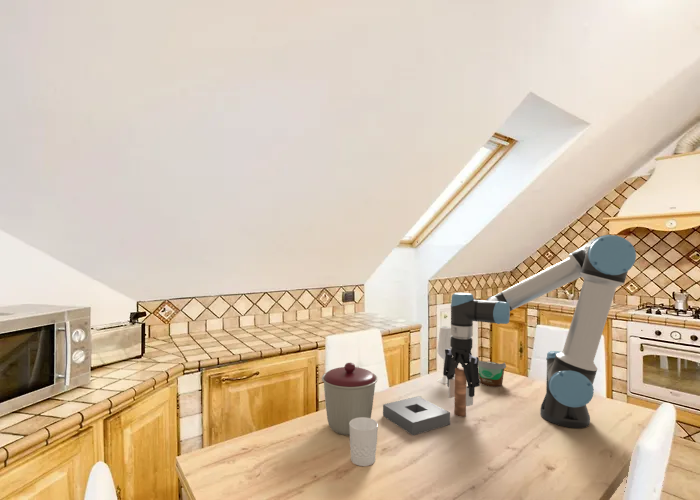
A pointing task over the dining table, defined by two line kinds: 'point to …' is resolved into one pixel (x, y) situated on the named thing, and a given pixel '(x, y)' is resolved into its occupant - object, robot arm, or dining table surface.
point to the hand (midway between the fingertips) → (460, 400)
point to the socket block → (416, 415)
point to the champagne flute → (444, 346)
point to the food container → (491, 373)
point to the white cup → (363, 440)
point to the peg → (460, 392)
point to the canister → (348, 395)
